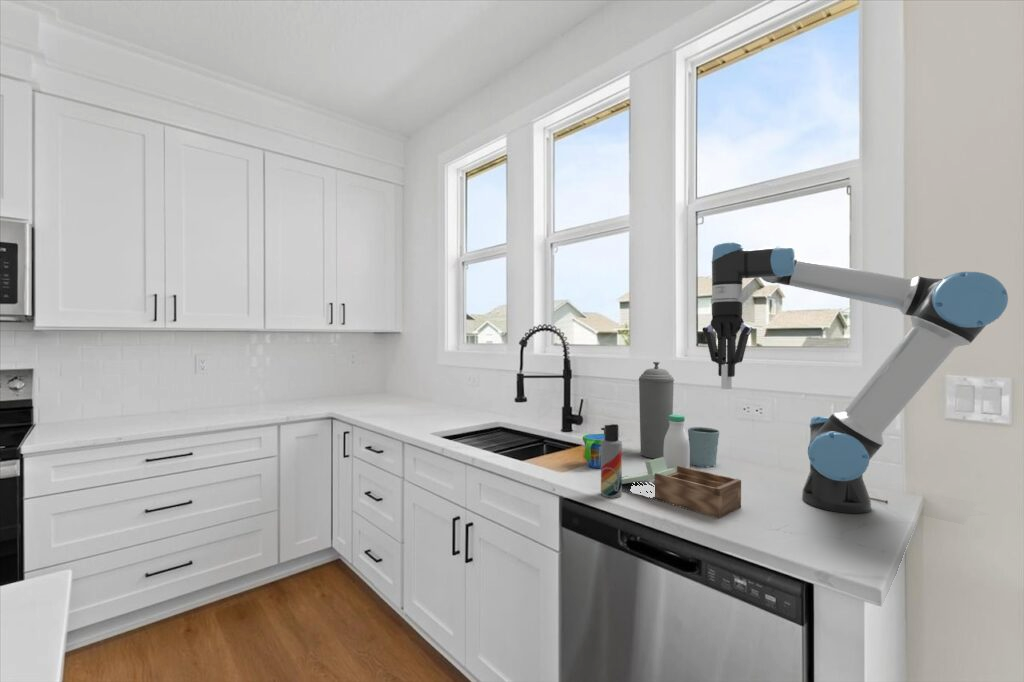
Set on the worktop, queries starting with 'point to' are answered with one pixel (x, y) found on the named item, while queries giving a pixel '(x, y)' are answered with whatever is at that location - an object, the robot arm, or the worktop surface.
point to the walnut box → (699, 491)
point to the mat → (628, 485)
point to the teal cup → (703, 446)
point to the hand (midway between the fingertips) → (726, 388)
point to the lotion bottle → (611, 463)
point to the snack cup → (593, 449)
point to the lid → (650, 471)
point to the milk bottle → (676, 444)
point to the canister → (655, 410)
